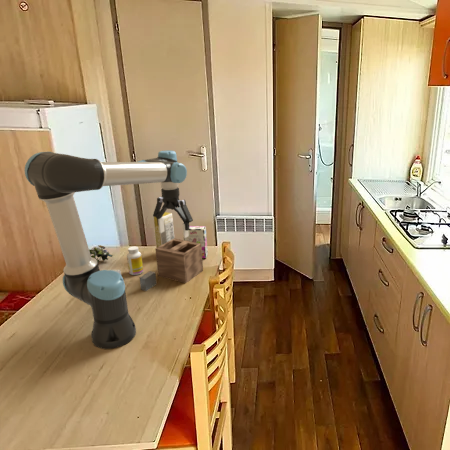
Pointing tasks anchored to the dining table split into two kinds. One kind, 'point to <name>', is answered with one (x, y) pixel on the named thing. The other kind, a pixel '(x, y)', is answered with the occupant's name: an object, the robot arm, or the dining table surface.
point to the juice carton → (168, 227)
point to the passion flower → (100, 253)
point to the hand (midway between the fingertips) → (173, 234)
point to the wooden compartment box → (179, 260)
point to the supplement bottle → (134, 261)
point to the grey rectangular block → (148, 280)
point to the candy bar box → (198, 237)
